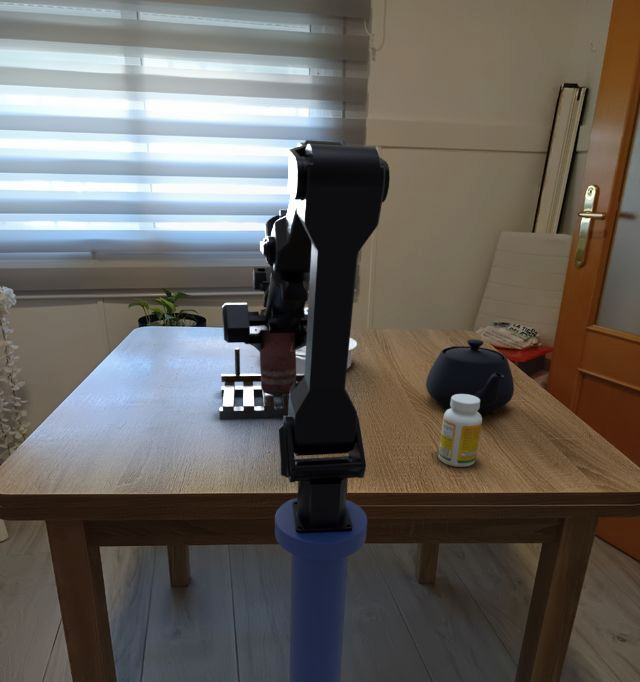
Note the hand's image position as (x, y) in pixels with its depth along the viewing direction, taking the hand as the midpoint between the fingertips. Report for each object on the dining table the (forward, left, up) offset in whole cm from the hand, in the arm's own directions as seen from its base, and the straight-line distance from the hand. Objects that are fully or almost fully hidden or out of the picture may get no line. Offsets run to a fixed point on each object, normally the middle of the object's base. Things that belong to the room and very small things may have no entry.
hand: (276, 348), depth 99 cm
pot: (+27, -8, -10) cm, 30 cm away
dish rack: (0, 0, -10) cm, 10 cm away
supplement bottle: (-24, -25, -10) cm, 36 cm away
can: (-2, 0, -7) cm, 7 cm away
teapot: (-2, -35, -10) cm, 37 cm away
